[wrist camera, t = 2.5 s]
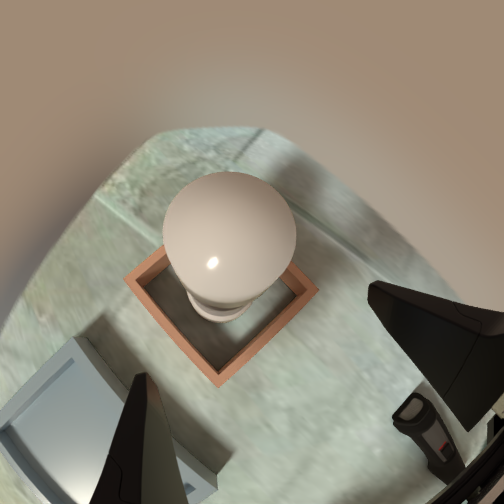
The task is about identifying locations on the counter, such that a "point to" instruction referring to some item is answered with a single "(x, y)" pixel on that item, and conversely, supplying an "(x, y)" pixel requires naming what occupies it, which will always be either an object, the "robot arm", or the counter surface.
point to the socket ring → (136, 283)
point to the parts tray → (75, 429)
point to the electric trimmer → (429, 436)
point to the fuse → (228, 241)
